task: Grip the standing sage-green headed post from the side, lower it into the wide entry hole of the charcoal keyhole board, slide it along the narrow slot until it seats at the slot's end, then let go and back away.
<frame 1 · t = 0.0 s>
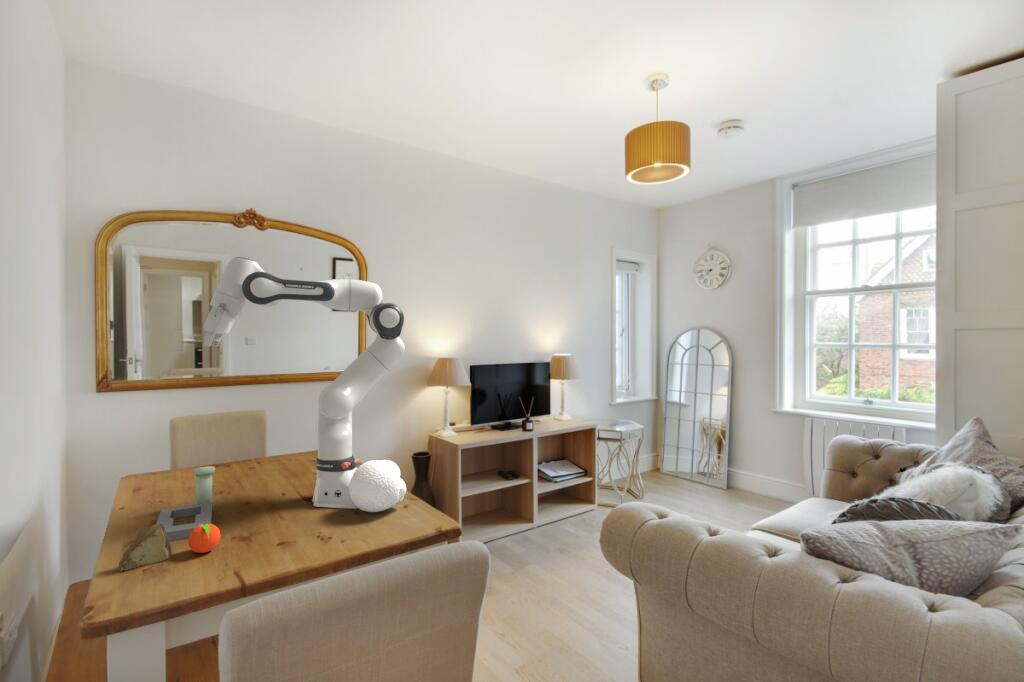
hand: (210, 346, 150), 52 cm above the table, tool tilted 20°, fingers open, 8 cm apart
rock: (145, 564, 115), on the table
clementine: (204, 553, 120), on the table
sage post: (203, 507, 153), on the table
white lumpy blob: (375, 510, 152), on the table, touching arm
keyhole board: (184, 525, 138), on the table
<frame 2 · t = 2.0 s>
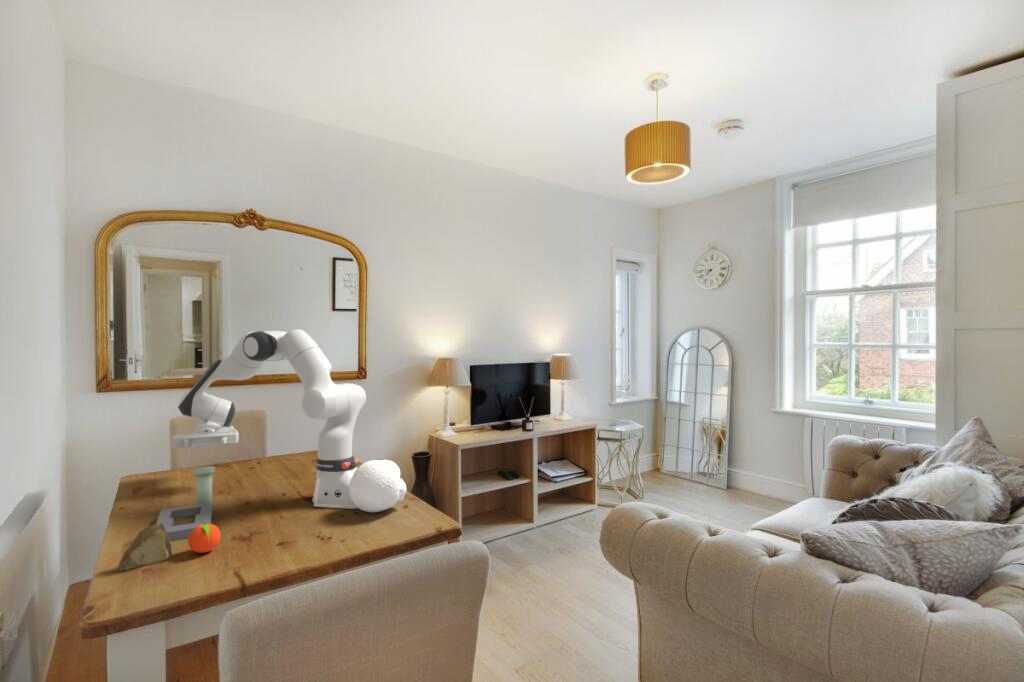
hand: (205, 443, 164), 18 cm above the table, tool horizontal, fingers open, 8 cm apart
nothing on the table moved.
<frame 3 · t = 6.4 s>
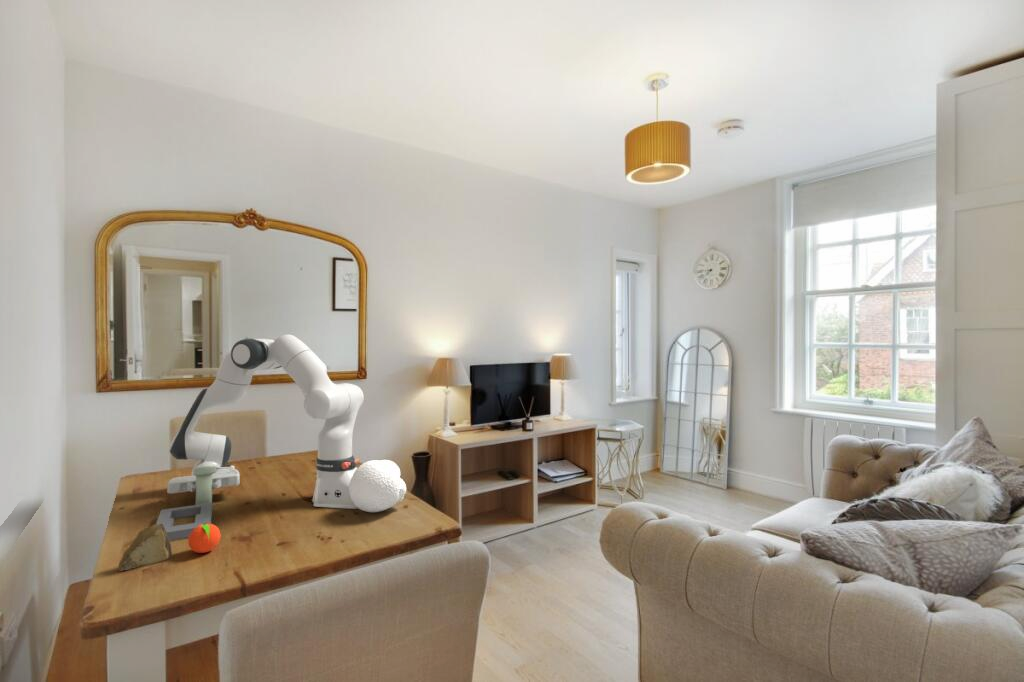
hand: (204, 488, 153), 7 cm above the table, tool horizontal, fingers closed on sage post, 4 cm apart
sage post: (203, 507, 153), on the table, touching gripper
everything else where it was.
when the fingers open (7 cm above the table, at t = 13.5 s): sage post stays where it is, resting in keyhole board.
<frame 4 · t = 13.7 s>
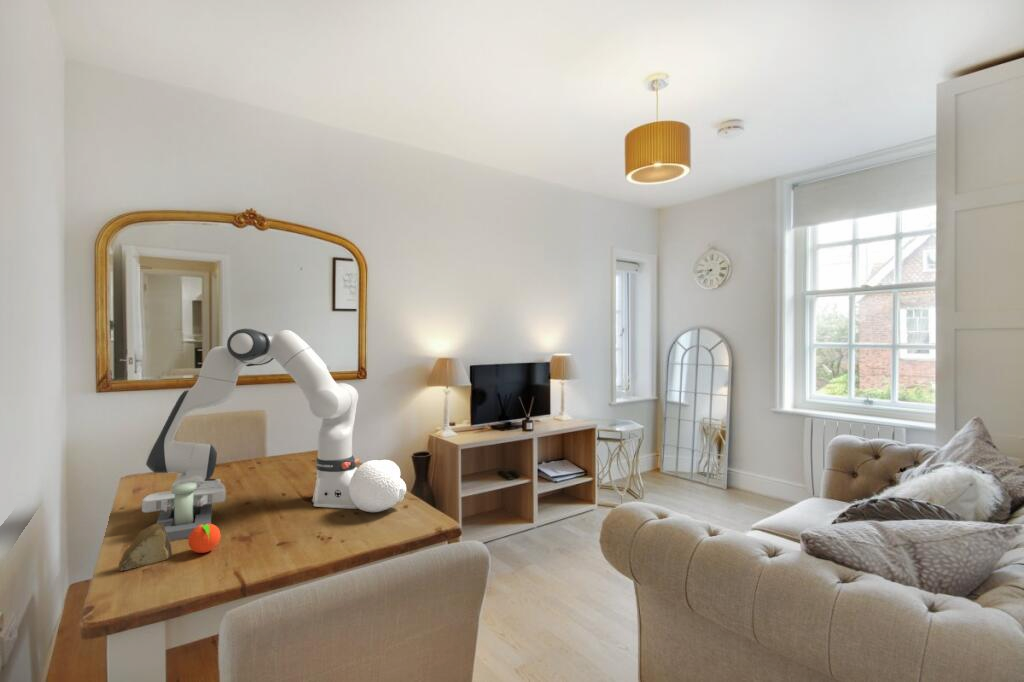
hand: (183, 506, 134), 7 cm above the table, tool horizontal, fingers open, 6 cm apart
sage post: (183, 529, 135), resting in keyhole board
everything else where it was.
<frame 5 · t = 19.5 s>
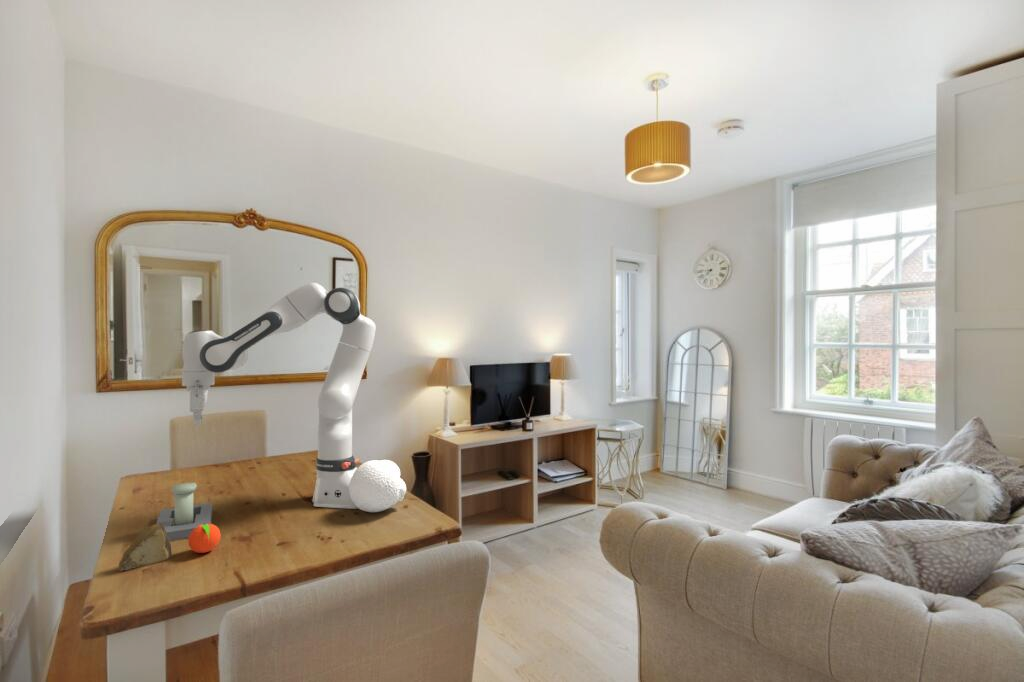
hand: (198, 422, 154), 27 cm above the table, tool pointing down, fingers open, 8 cm apart
nothing on the table moved.
at the end: sage post 0.1 cm from the target spot on the keyhole board, point 0.0 cm above the keyhole board's base; sage post tilted 0°; the gripper is holding nothing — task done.
